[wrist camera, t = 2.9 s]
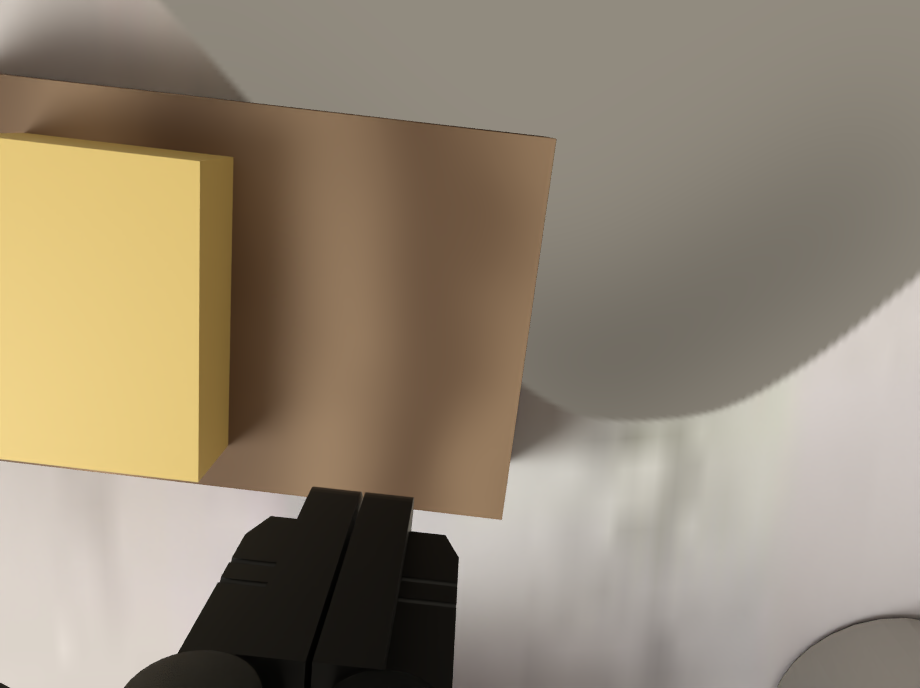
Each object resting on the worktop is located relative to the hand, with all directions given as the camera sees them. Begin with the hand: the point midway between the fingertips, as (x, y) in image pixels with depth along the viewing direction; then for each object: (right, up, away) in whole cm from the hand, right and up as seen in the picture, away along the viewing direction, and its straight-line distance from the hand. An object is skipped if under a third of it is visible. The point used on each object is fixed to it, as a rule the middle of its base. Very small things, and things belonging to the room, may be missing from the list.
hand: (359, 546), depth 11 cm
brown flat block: (-6, +5, +15) cm, 17 cm away
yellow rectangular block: (-8, +4, +11) cm, 15 cm away
